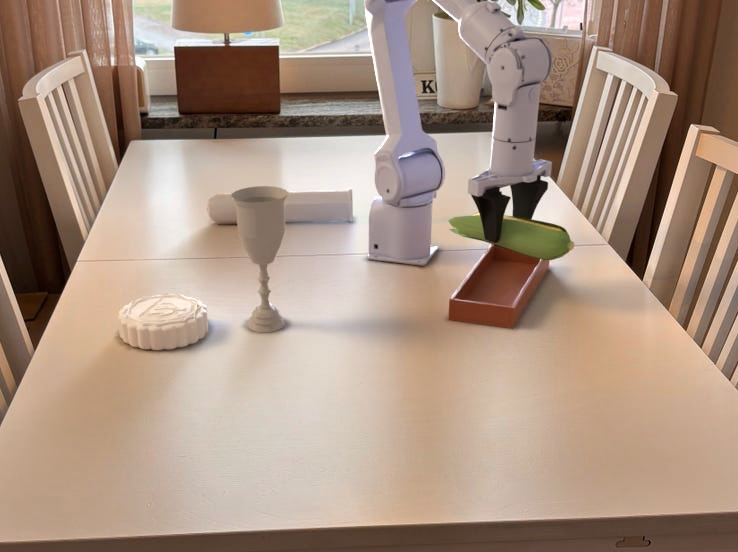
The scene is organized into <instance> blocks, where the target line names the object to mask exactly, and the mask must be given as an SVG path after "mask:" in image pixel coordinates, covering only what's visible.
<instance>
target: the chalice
mask: <svg viewBox="0 0 738 552" xmlns="http://www.w3.org/2000/svg"><path fill="white" fill-rule="evenodd" d="M231 193H232V198H233V200H234V201H235V203H236V210H237V234H238V236H239V239H240V241H241V244H242V247H243V248H244V250H245V251H246V253H247V255H248V257H249V259H250V260H251V262H252V263H253V264H255V265H258V267H259V275H258V277H257V280H258V281H259V283H260V286H259V289H258V291H257V293H258V294H259V296H260V298H261V301H260V304H259V305H257V306H256V307H255V308H254V310H252V312H251V316H250V317H249V322H248V323H247V327H248V329H249V330H251V331H252V332H256V333H273V332H277V331H279V330H281V329H283V328H284V327H285V322H284V320H283V317H282V316H281V314H280V310H279V309H278V308H276V306H274V305H272V303H270V300H269V296H270V293H272V290H271V289H270V288H269V285H268V284H269V280H270V279H271V277H270V276H269V272H268V265H270V264H272V263H273V262H274V261H275V259H276V257H277V254H278V252H279V250H280V248H281V245H282V242H283V239H284V236H285V231H286V222H285V213H284V201H285V199H286V197H287V194H288V190H287V189H286V188H285V189H284V188H282V187H278V186H269V185H257V186H249V187H245V188H241V189H237V190H235V191H233V192H231Z"/></svg>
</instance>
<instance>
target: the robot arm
mask: <svg viewBox="0 0 738 552" xmlns="http://www.w3.org/2000/svg"><path fill="white" fill-rule="evenodd" d="M417 1H418V0H363V4H364V8H365V9H364V13H365V19H366V25H367V30H368V32H367V33H368V37H369V41H370V43H369V44H370V49H371V54H372V61H373V67H374V72H375V79H376V83H377V90H378V95H379V102H380V108H381V112H382V120H383V125H384V130H385V131H384V132H385V136H386V137H385V138H384V140H383V142H382V143H381V145H379V147H378V148H377V150H376V151H375V152H374V161H375V170H374V187H375V189H376V191H377V194H378V195H379V196H375V197H374V198H373V200H372V202H371V204H370V208H369V214H368V254H367V256H366V258H367V260H372V261H380V262H381V261H382V262H389V263H396V264H405V265H412V266H421V267H423V266H426V265H427V264H428V262H429V261H430V260H431V259H432V258H433V257H434V255H435V254H436V253H438V251H439V246H436V245H432V244H431V243H432V224H433V200H434V199H437V191H439V190H440V189H441V188H442V187H443V185H444V183H445V178H446V169H445V168H446V167H445V164H444V162H443V159H442V157H441V155H440V153H439V150H438V145H437V141H436V139H434V138H433V137H432V136H430V134H428V133H426V132H425V131H424V130H423V127H422V121H421V115H420V108H419V101H418V95H417V89H416V82H415V76H414V71H413V62H412V57H411V49H410V45H409V38H408V32H407V25H406V20H405V19H406V15H408V12H409V11H410V9H411V7H412V6H413V5H415V3H416V2H417ZM432 1H433V2H434V3H435V4H436V5H437V6H438V7H440V9H442V10H443V11H444V12H445V13H446V14H448V15H449V16H450V17H451V18H452V19H453V20H454V21H456V22H457V23H458V35H459V37H460V39H461V40H462V41H463V42H464V43H465V45H467V47H469V48H470V49H471V50H472V51H473V52H474V53H475V54H476V56H477V57H479V58H480V60H481V61H483V63H484V64H485V65H486V68H487V69H486V70H487V75H488V79H489V81H490V84H491V87H492V96H491V98H492V99H493V103H494V110H493V122H492V125H493V126H492V137H491V152H490V164H489V168H488V169H486V170H484V171H483V172H481V173H479V174H478V175H476V176H474V177H471V178H468V179H467V180H468V182H467V194H468V195H470V196H471V197H472V200H473V201H474V204H475V206H476V208H477V210H478V213H479V214H480V217H481V221H482V226H483V231H484V237H485V240H487V241H490V242H493V243H497V242H499V239H500V235H501V229H502V221H503V217H504V215H505V213H506V210H507V207H508V206H509V203H510V201H512V216H513V217H519V218H526V219H532V220H533V218H534V217H533V216H534V214H535V211H536V210H537V207H538V205H539V204H540V203H539V202H540V201H541V200H542V198H543V196H544V195H545V194H546V192H547V191H548V190H549V182H548V181H546V180H542V177H544V178H547V177H551V176H552V169H553V168H552V167H553V162H552V161H550V160H546V159H536V160H534V159H535V151H536V150H535V148H536V140H537V138H536V137H537V130H538V129H537V127H538V117H539V108H540V97H541V96H540V95H541V86H542V83H544V82H545V81H547V79H548V78H549V77H550V74H551V73H552V69H553V55H552V54H553V53H552V51H551V48H550V46H549V45H548V44H547V42H546V41H545V39H544V38H543V37H541V36H538V35H534V36H529V35H527V33H524V30H523V29H522V28H521V27H520V26H516V24H514V23H513V22H512V21H511V20H510V19H509V17H507V16H506V15H505V14H504V13H503V12H502V11H501V10H502V6H501V5H500V4H499V3H498V2H497V1H493V2H492V1H490V0H481V1H478V0H432ZM408 152H413V153H414V154H412V155H408V156H404V157H400V156H401V155H402V154H404V153H408ZM505 187H510V191H511V196H509V195H506V194H503V192H502V191H501V189H502V188H505ZM511 199H512V200H511Z"/></svg>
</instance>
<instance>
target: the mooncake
mask: <svg viewBox="0 0 738 552" xmlns="http://www.w3.org/2000/svg"><path fill="white" fill-rule="evenodd" d="M117 326H118V333H119V337H120V338H121V339H122V341H123V343H124V344H128V345H130V347H132V348H140V349H141V350H145V351H146V350H147V351H148V350H152V351H162V350H167V351H168V350H169V351H170V350H171V351H172V350H174V349H176V348H185V347H187V346H188V345H192V344H196V343H197V342H198V341H199V340H202V339H203V338H205V336H206V334H207V333H208V332H209V322H208V310H207V306H206V305H205V304H203V302H202V301H201V300H197V299H196V298H194V297H191V296H185V295H183V294H180V293H177V294H171V293H163V294H156V295H152V296H141V297H140V298H138V299H136V300H131V301H130V302H129V304H125V305H123V306H122V307H121V309H120V310H119V311H118V312H117Z"/></svg>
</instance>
